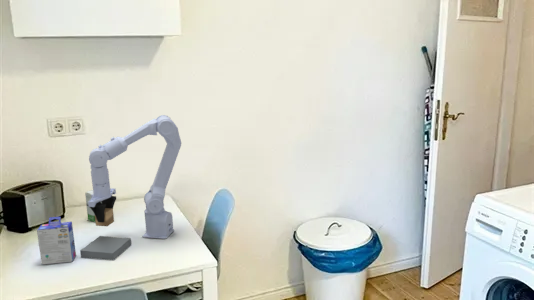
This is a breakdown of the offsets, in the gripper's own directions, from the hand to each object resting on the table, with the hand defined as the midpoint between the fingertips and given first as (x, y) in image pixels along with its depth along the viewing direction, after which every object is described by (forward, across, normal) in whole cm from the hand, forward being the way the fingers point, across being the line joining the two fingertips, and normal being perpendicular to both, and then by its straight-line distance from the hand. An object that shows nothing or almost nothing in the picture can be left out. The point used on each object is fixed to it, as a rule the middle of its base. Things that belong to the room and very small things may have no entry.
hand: (105, 219), depth 166 cm
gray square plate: (+9, +7, +4) cm, 12 cm away
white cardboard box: (+9, -20, -15) cm, 27 cm away
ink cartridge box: (+9, +16, -8) cm, 20 cm away
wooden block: (+2, 0, 0) cm, 2 cm away
